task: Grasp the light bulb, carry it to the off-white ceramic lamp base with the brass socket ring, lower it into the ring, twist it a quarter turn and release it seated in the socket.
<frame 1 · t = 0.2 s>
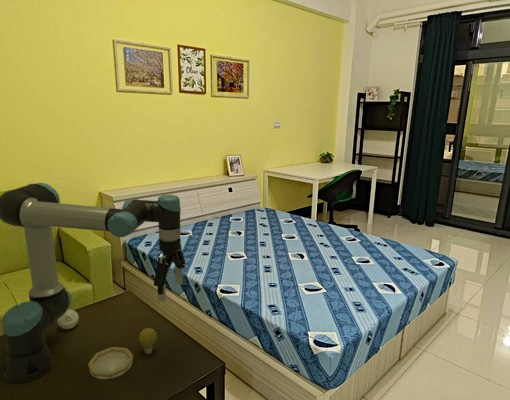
hand: (170, 292, 132), 27 cm above the table, fingers open, 13 cm apart
motion sensor: (69, 327, 152), on the table
socket base: (111, 364, 131), on the table
light bulb: (148, 352, 139), on the table
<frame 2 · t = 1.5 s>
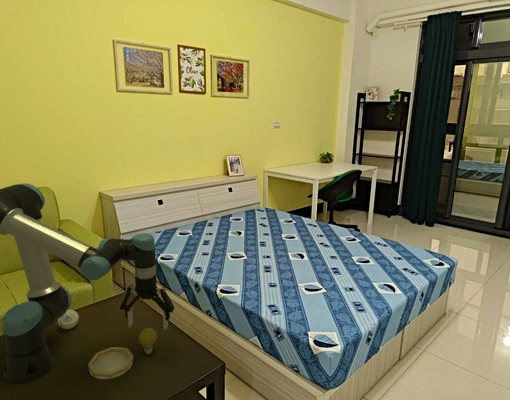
hand: (148, 326, 136), 12 cm above the table, fingers open, 13 cm apart
nothing on the table moved.
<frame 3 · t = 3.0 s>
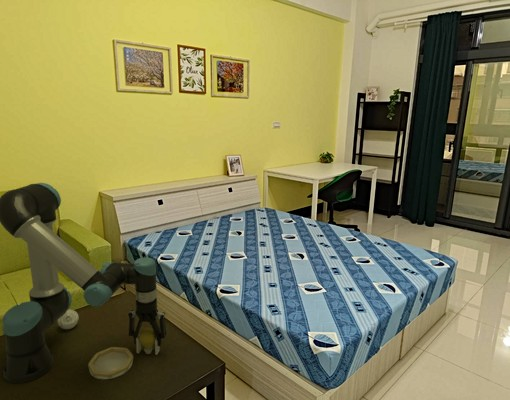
hand: (148, 351, 138), 1 cm above the table, fingers closed on light bulb, 7 cm apart
light bulb: (148, 352, 139), on the table, touching gripper
everything else where it was.
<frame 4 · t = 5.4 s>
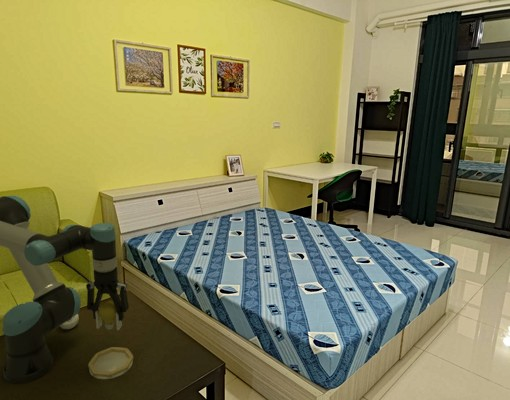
hand: (109, 327, 128), 16 cm above the table, fingers closed on light bulb, 7 cm apart
light bulb: (109, 328, 128), point 15 cm above the table, touching gripper
everything else where it was.
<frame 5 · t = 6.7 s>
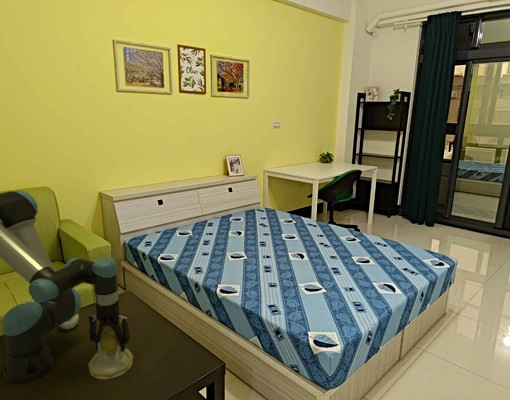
hand: (111, 357, 131), 3 cm above the table, fingers closed on light bulb, 7 cm apart
light bulb: (111, 358, 131), point 2 cm above the table, touching gripper
everything else where it was.
when the fingers open (2 cm above the table, at t = 7.6 s): light bulb stays where it is, resting on socket base.
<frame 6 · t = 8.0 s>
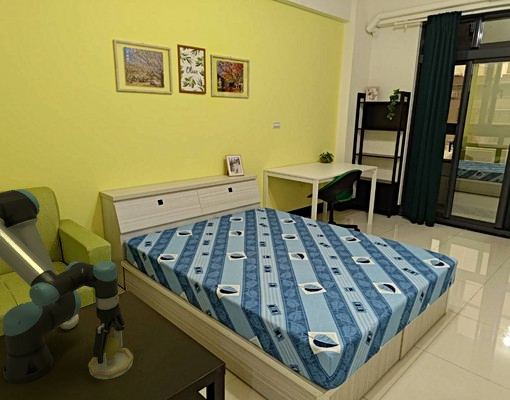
hand: (111, 357, 131), 3 cm above the table, fingers open, 12 cm apart
light bulb: (110, 363, 131), point 1 cm above the table, touching socket base
everything else where it was.
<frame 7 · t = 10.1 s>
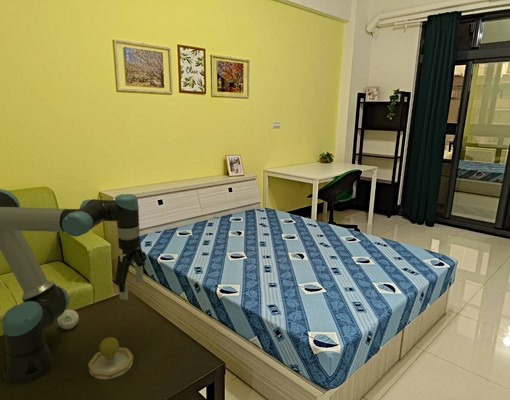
hand: (132, 289, 134), 26 cm above the table, fingers open, 13 cm apart
nothing on the table moved.
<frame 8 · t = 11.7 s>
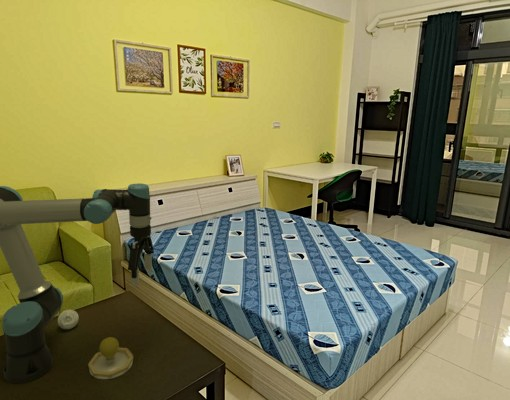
hand: (142, 276, 139), 29 cm above the table, fingers open, 13 cm apart
nothing on the table moved.
at the end: light bulb inside the target area on the socket base (0.4 cm from its centre), point 0.6 cm above the socket base's base; light bulb touching socket base; the gripper is holding nothing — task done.
